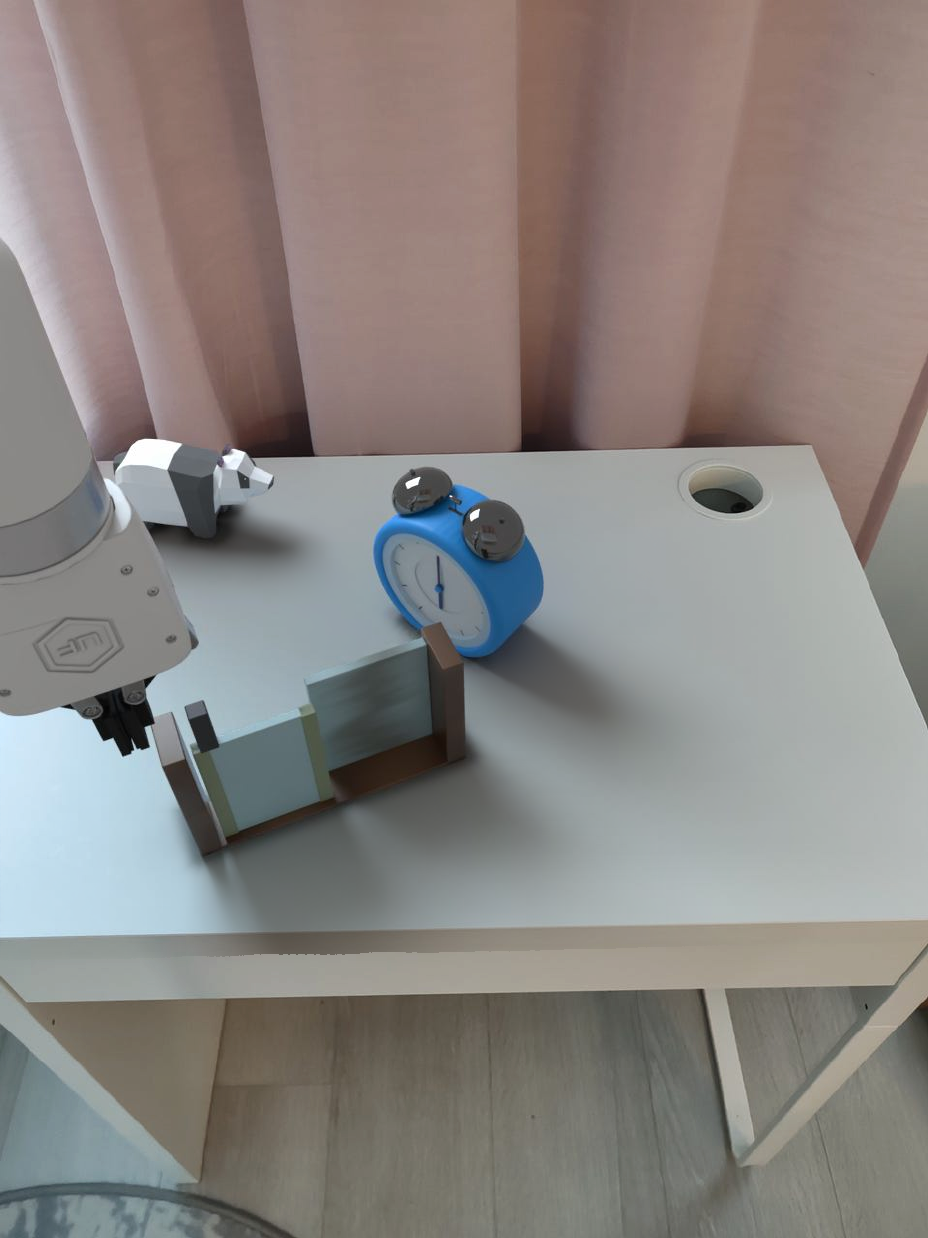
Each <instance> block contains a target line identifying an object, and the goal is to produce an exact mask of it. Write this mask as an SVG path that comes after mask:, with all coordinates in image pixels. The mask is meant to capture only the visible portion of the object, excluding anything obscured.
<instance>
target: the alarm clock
mask: <svg viewBox="0 0 928 1238" xmlns="http://www.w3.org/2000/svg"><path fill="white" fill-rule="evenodd" d="M391 505H392V508H393V510H394V512H395V513H396V514H395V515H394V516H393V517H391V518H390V519H389V520H388V521H386V522H385V523H384V524H383V525H382V526H381V527H380V528H379V530H378V531H377V532H376V535H375V538H374V541H373V547H372V550H373V551H372V554H373V562H374V566H375V570H376V573H377V576H378V578H379V581H380V582H381V585H382V588H383V589H384V591H385V592H386V594H387V597H388V598H389V599H390V601H391V602H392V603H393V605H394V606H395V608H396V610H398V612H399V613H400V614H401V615H402V617H403V618H405V620H406V621H407V622H408V623H409V624H410V625H411V626H413V627H414V628H416V629H417V630H419V631H420V632H421V628H423V627H426V626H428V625H431V624H434V623H437V622H441V623H442V625H443V626H444V628H445V630H446V632H447V634H448V635H449V637H450V639H451V641H452V643H453V644H454V646H455V648H456V650H457V652H458V653H459V655H460V656H463V657H468V658H481V657H486V656H489V655H491V654H493V653H494V652H495V651H497V650H498V649H499V648H500V647H501V646H502V645H503V644H504V643H505V642H506V641H507V640H508V639H509V638H510V637H511V636H512V635H513V634H514V633H515V632H516V631H517V630H518V629H519V628H520V627H521V626H522V625H523V624H524V623H525V622H526V621H527V620H528V619H529V618H530V617H531V616H532V615H533V614H534V612H535V611H536V610H537V609H538V608H539V606H540V604H541V603H542V599H543V596H544V590H545V589H544V587H545V581H544V574H543V569H542V565H541V561H540V559H539V556H538V554H537V552H536V550H535V548H534V546H533V545H532V543H531V541H530V539H529V537H528V536H527V535H526V529H525V524H524V522H523V519H522V517H521V516H520V514H519V513H518V511H516V509H514V508H513V506H511V505H510V504H508V503H505V502H503V501H501V500H497V499H491V498H489V497H488V496H486V495H484V494H483V493H481V492H480V491H477V490H475V489H472V488H471V487H467V486H464V485H460V484H454V483H453V481H452V479H451V477H450V475H449V474H448V473H447V472H445V471H444V470H442V469H440V468H438V467H434V466H421V467H417V468H410V469H409V471H408V472H406V473H405V474H403V475H402V476H401V477H400V478H399V479H398V480H397V482H396V483H395V485H394V487H393V489H392V492H391Z"/></svg>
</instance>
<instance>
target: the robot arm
mask: <svg viewBox="0 0 928 1238" xmlns="http://www.w3.org/2000/svg"><path fill="white" fill-rule="evenodd" d="M199 644H200V641H199V639H198V636H197V632H196V630H195V627H194V625H193V623H192V622H191V621H190V619H188V618H187V616H186V615H185V614H184V610H183V607H182V605H181V602H180V599H179V596H178V594H177V592H176V590H175V586H174V584H173V580H172V578H171V576H170V574H169V571H168V569H167V567H166V564H165V562H164V560H163V557H162V556H161V554H160V551H159V549H158V547H157V545H156V543H155V541H154V540H153V537H152V535H151V533H150V532H149V529H147V528H146V526H145V524H144V523H143V521H142V519H141V518H140V516H139V514H138V513H137V511H136V510H135V508H134V507H133V505H132V504H131V502H130V501H129V499H128V498H127V497H126V495H125V494H124V493H123V491H122V490H121V489H120V487H119V486H118V485H117V484H115V481H113V480H111V479H109V478H107V477H103V474H102V471H101V468H100V466H99V464H98V461H97V458H96V456H95V453H94V451H93V448H92V445H91V443H90V441H89V438H88V435H87V433H86V431H85V427H84V425H83V422H82V421H81V418H80V415H79V413H78V410H77V407H76V405H75V402H74V399H73V398H72V395H71V392H70V389H69V388H68V384H67V382H66V380H65V377H64V374H63V372H62V370H61V367H60V363H59V362H58V359H57V356H56V355H55V352H54V349H53V346H52V344H51V341H50V339H49V336H48V333H47V331H46V328H45V325H44V322H43V320H42V318H41V316H40V312H39V310H38V308H37V305H36V302H35V300H34V298H33V295H32V292H31V290H30V287H29V284H28V282H27V279H26V277H25V274H24V271H23V269H22V267H21V266H20V263H19V261H18V259H17V257H16V255H15V254H14V252H13V250H12V249H11V248H10V246H9V245H8V244H7V243H6V241H4V240H3V239H2V237H0V713H1V714H4V715H5V716H10V717H27V716H33V715H37V714H41V713H44V712H49V711H51V710H55V709H58V708H62V709H68V710H71V711H76V712H77V714H78V715H79V716H80V717H81V718H82V719H84V720H89V721H90V720H91V721H92V723H93V725H94V727H95V728H96V731H97V733H98V735H99V737H100V739H101V740H102V742H106V741H109V740H113V741H114V743H115V745H116V748H117V749H118V750H119V753H120V754H121V756H122V757H123V758H124V757H126V756H129V755H132V753H133V752H134V751H135V748H136V750H139V749H140V751H144V750H147V749H150V748H151V745H150V741H149V738H148V734H147V730H146V728H147V727H151V726H150V725H153V724H155V721H154V717H155V716H154V715H153V711H152V708H151V706H150V703H149V701H148V698H147V690H146V689H147V688H148V687H149V686H150V685H151V683H152V682H153V681H154V680H155V678H156V677H157V676H158V675H159V674H162V673H164V672H168V671H169V670H172V669H173V668H175V667H177V666H179V665H180V664H182V663H183V661H185V660H187V658H188V657H189V656H190V655H191V653H192V651H193V650H195V649H196V648H197V647H198V646H199ZM134 747H135V748H134Z"/></svg>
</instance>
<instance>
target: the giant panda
mask: <svg viewBox="0 0 928 1238" xmlns="http://www.w3.org/2000/svg"><path fill="white" fill-rule="evenodd" d="M112 467H113V468H112V469H113V476H114V483H115V484H117V485H118V486H119V487H120V489H121V490H122V491H123V493H124V494H125V495H126V497H127V498H128V499H129V501H130V502H131V504H132V505H133V507H134V508H135V510H136V511H137V513H138V514H139V516H140V518H141V519H142V521H143V523H144V524H145V526H146V528H147V530H151V529H152V528H153V527H154V526H155V523H156V524H163V525H170V526H178V527H180V526H181V527H187V528H188V529H189V530H190V532H191V533H192V534H193V535H194V536H195V537H198V538H203V539H213V538H214V537H215V535H216V534H217V530H218V527H217V518H218V517H217V516H218V514H219V513H226V511H227V510H229V507H230V505H231V506H232V505H244V504H245V503H246V502H247V501H248V499H250V498H254V497H257V496H261V495H264V494H266V493H268V491H269V490H270V489H271V488H272V487H273V486H274V481H275V476H274V475H273V474H271V473H268V472H267V471H265V470H264V469H261V468H259V467H258V466H257V463H256V462H255V460H254V459H253V458H252V457H251V456H250V455H249V454H248V453H247V452H245V451H242V450H240V449H239V450H238V449H236V448H231V443H226V444H225V445H224V447H223V448H222V451H221V454H220V453H219V452H218V450H217V449H208V448H203V447H199V446H193V445H189V444H185V443H180V442H176V441H175V442H174V441H171V440H166V439H155V438H154V439H153V438H143V439H139V440H137V441H135V443H133V444H132V445H131V446H130V448H129V449H128V451H123V452H120V453H118V454H116V455H115V456H114V458H113V462H112Z"/></svg>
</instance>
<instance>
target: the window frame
mask: <svg viewBox="0 0 928 1238" xmlns="http://www.w3.org/2000/svg"><path fill="white" fill-rule="evenodd" d="M303 682H304V687H305V691H306V695H307V700H308V704H309V703H312V704H313V707H314V709H315V712H316V715H317V720H318V725H319V729H320V734H321V739H322V743H323V748H324V753H325V757H326V762H327V767H328V771H329V776H330V781H331V785H332V790H333V794H334V797H333V798H330V799H328V800H325V801H322V802H321V801H319V802H316V803H313V804H311V805H308V806H305V807H303V808H300V809H297V810H295V811H292V812H289V813H287V814H284V815H281V816H278V817H276V818H273V819H270V820H268V821H265V822H262V823H260V824H257V825H254V826H252V827H249V828H246V829H243V830H241V831H239V833H236V834H234V835H231V836H228V837H225V836H224V833H223V830H222V828H221V825H220V823H219V820H218V818H217V815H216V813H215V810H214V808H213V805H212V803H211V800H210V799H209V800H208V797H207V795H206V791H205V790H204V788H203V785H202V783H201V780H200V777H199V775H198V772H197V770H196V768H195V765H194V762H193V760H192V758H191V755H190V753H189V751H188V747H187V745H186V742H185V740H184V737H183V735H182V732H181V730H180V727H179V725H178V723H177V719H176V717H175V715H174V712H173V711H169V712H167V713H163V714H159V715H157V716H153V717H154V721H155V724H153V725H150V726H149V727H150V729H151V734H152V737H153V740H154V743H155V747H156V751H157V755H158V759H159V762H160V766H161V769H162V771H163V774H164V776H165V778H166V780H167V783H168V784H169V787H170V790H171V791H172V794H173V795H174V798H175V800H176V802H177V805H178V808H179V809H180V811H181V813H182V817H183V818H184V820H185V822H186V825H187V827H188V829H189V831H190V834H191V836H192V838H193V841H194V843H195V845H196V847H197V849H198V852H199V854H200V856H201V858H203V857H206V856H209V855H211V854H214V853H216V852H219V851H221V850H225V849H227V848H230V847H233V846H236V845H238V844H240V843H243V842H247V841H248V840H251V839H253V838H257V837H259V836H262V835H265V834H268V833H271V832H273V831H276V830H278V829H281V828H283V827H286V826H289V825H291V824H295V823H297V822H299V821H303V820H304V819H308V818H309V817H312V816H313V817H314V816H315V815H318V814H320V813H323V812H326V811H329V810H331V809H334V808H337V807H339V806H342V805H345V804H348V803H351V802H353V801H355V800H358V799H361V798H364V797H366V796H369V795H372V794H374V793H376V792H379V791H382V790H385V789H387V788H390V787H392V786H396V785H398V784H401V783H404V782H406V781H409V780H411V779H414V778H417V777H420V776H422V775H425V774H427V773H430V772H433V771H435V770H439V769H441V768H443V767H447V766H449V765H451V764H454V763H457V762H460V761H463V760H465V759H466V758H467V742H466V701H465V662H464V660H463V659H462V657H461V655H460V654H459V653H458V652H457V650H456V648H455V646H454V644H453V643H452V641H451V639H450V637H449V635H448V634H447V632H446V630H445V628H444V626H443V625H442V623H441V622H437V623H434V624H431V625H428V626H426V627H423V628H421V631H420V637H419V638H416V639H414V640H410V641H407V642H404V643H401V644H398V645H395V646H392V647H390V648H386V649H384V650H380V651H378V652H374V653H372V654H369V655H366V656H363V657H359V658H357V659H354V660H350V661H348V662H345V663H341V664H339V665H336V666H333V667H331V668H330V667H329V668H327V669H325V670H321V671H319V672H315V673H312V674H309V675H307V676H304V677H303Z"/></svg>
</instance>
